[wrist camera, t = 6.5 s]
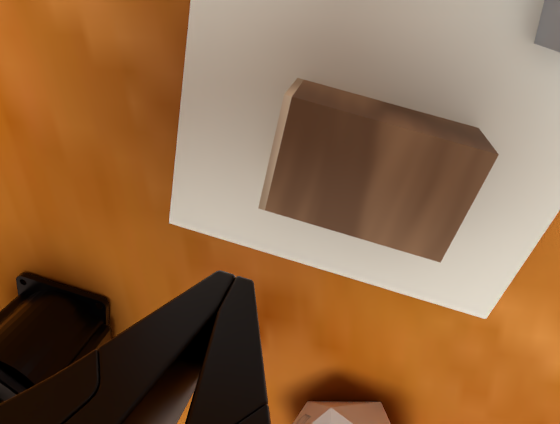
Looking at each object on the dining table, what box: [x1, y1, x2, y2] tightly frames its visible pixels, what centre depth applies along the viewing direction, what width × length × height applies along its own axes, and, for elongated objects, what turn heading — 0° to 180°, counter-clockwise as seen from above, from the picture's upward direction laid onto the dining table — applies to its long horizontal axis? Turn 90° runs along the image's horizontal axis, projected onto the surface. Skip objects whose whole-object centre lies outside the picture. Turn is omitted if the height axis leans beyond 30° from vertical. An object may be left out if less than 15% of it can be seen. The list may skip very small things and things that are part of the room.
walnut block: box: [258, 78, 499, 263], centre depth 17 cm, size 3×5×8 cm
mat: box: [169, 0, 560, 319], centre depth 18 cm, size 18×18×1 cm
